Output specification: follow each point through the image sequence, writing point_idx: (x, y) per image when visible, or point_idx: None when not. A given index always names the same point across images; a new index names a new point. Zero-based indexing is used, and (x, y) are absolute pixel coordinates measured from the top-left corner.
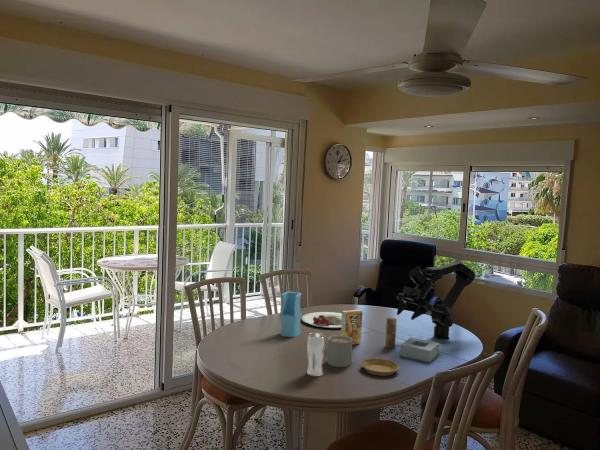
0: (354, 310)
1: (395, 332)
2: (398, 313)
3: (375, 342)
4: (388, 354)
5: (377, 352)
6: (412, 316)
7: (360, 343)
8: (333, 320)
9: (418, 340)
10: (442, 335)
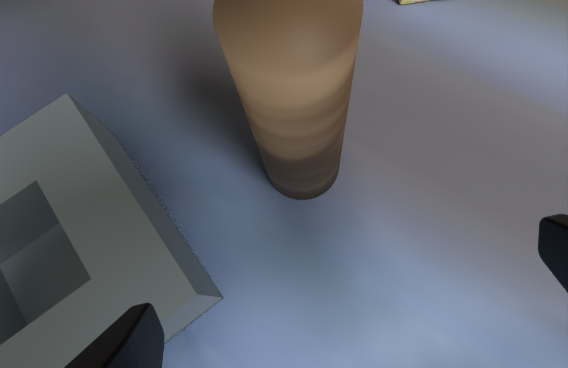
0: None
1: (256, 137)
2: (556, 248)
3: (412, 106)
4: (162, 79)
5: (216, 35)
6: (109, 330)
7: (400, 3)
8: None
9: (86, 313)
10: None
